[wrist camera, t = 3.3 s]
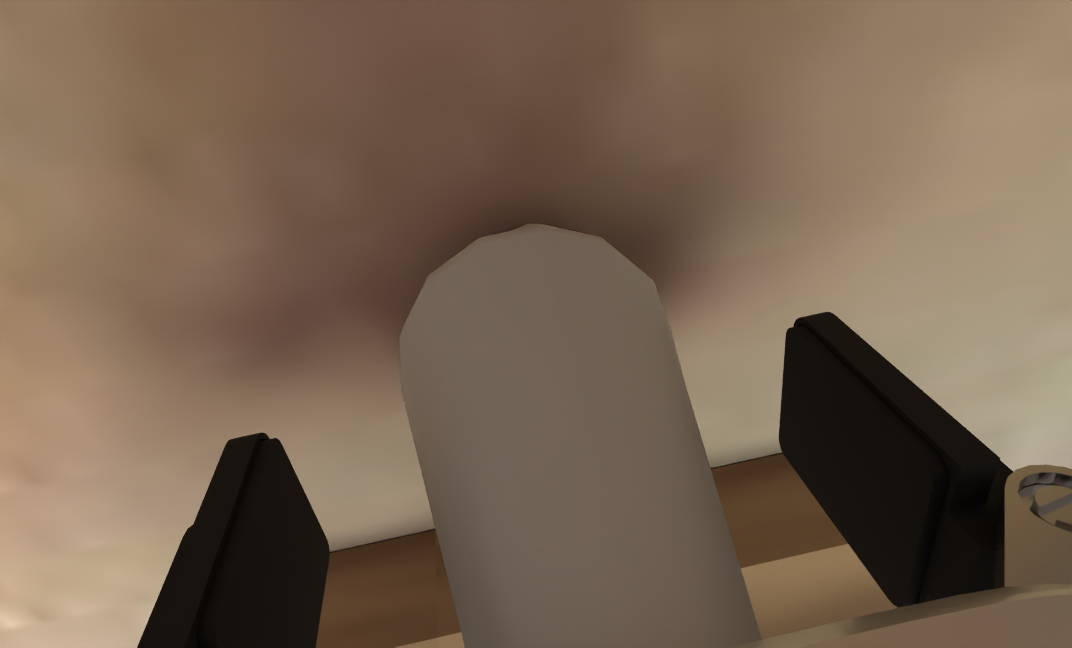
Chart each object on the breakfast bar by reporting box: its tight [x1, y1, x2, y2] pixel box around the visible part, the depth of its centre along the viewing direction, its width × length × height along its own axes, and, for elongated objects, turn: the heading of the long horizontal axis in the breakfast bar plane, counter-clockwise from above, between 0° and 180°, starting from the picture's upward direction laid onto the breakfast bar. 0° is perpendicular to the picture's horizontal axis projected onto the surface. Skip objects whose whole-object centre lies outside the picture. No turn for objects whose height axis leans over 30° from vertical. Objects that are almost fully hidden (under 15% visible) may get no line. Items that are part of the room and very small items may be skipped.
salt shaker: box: [399, 223, 762, 648], centre depth 10 cm, size 6×6×13 cm
